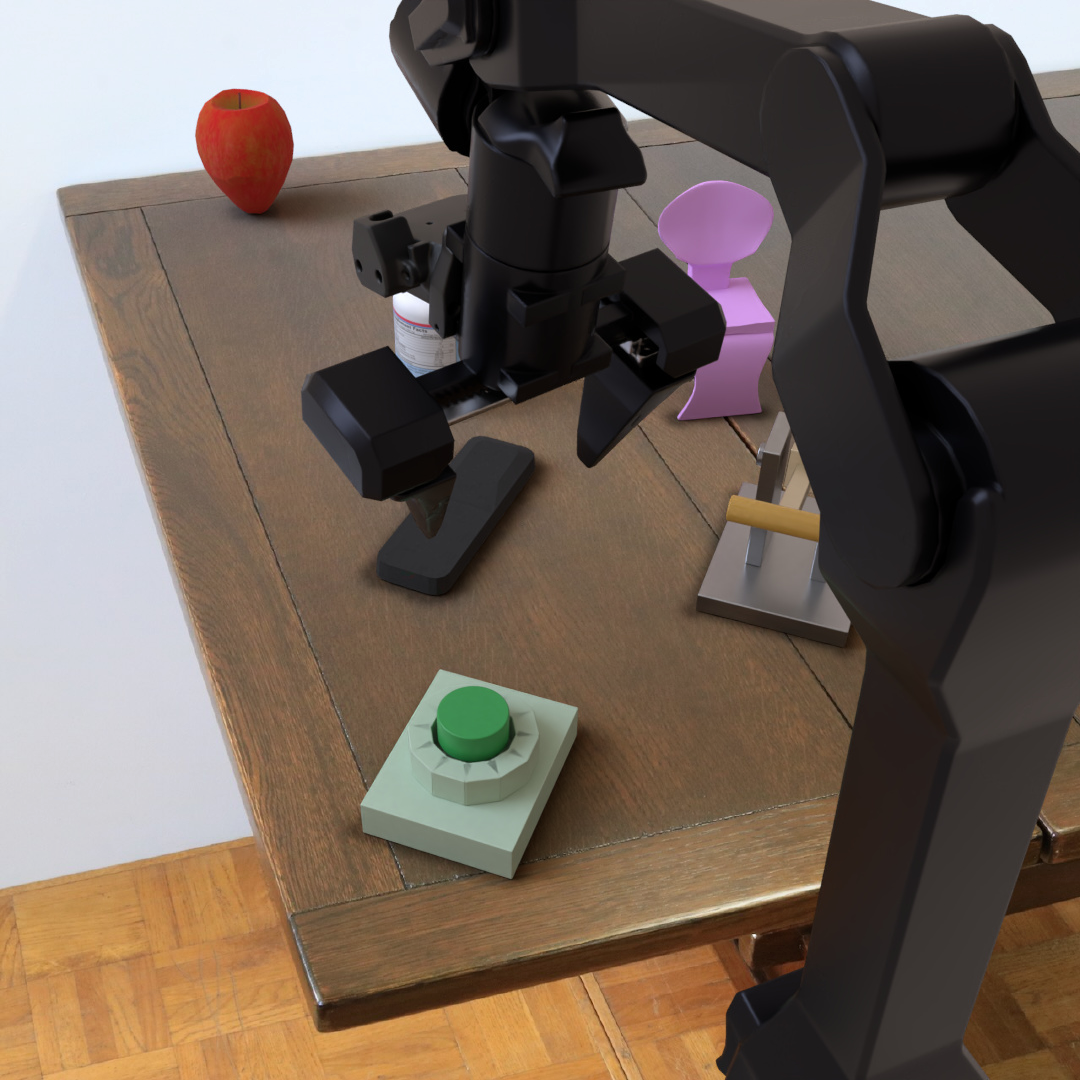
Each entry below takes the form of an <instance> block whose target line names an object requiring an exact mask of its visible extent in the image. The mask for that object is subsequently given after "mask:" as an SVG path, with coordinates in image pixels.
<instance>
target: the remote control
mask: <svg viewBox="0 0 1080 1080" xmlns="http://www.w3.org/2000/svg"><path fill="white" fill-rule="evenodd" d="M535 456H536V455H535V453H534V451H533V450H532V449H530V448H529V447H526V446H523V445H519V444H516V443H512V442H508V441H504V440H501V439H497V438H495V437H494V438H493V437H489V436H485V435H476V436H473V437H471V438H469V439H468V440H467V441H466V443H464V445H463V446H462V448H461V449H460V450H459V451H458V453H456V455H455V456H454V457H453V460H452V461H451V462H450V463H449V465H450V467H451V468H452V469H453V470H454V471H455V473H456V474H457V477H456V481H455V484H454V487H453V490H452V494H451V496H450V500H449V503H448V506H447V510H446V513H445V516H444V519H443V523H442V525H441V527H440V529H439V531H438V533H437V534H436V536H435V537H433V538H431V539H427V538H426V536H425V535H424V534H423V533H422V531H421V530H420V529H419V528H418V526H417V524H416V522H415V520H414V518H413V516H412V514H411V512H410V511H409V513H408V514H407V515H406V517H405V518H404V519H403V520H402V522H401V523H400V525H398V527H397V528H396V529H395V530H394V532H393V533H392V534H391V535H390V537H389V538H388V539H387V540H386V541H385V543H384V544H383V545H382V546H381V548H380V549H379V550H378V553H377V555H376V565H375V566H376V567H375V568H376V569H375V573H376V574H377V577H378V578H379V579H381V580H383V581H386V582H388V583H391V584H393V585H398V586H401V587H403V588H404V587H405V588H407V589H411V590H414V591H417V592H420V593H423V594H427V595H433V596H439V595H443V594H445V593H447V592H448V591H449V590H451V588H452V587H453V585H454V584H455V582H456V581H457V580H458V579H459V577H460V575H462V573H463V572H464V570H465V569H466V567H467V566H468V564H469V563H470V561H471V560H472V559H473V558H474V557H475V555H476V553H477V552H478V551H479V549H480V548H481V546H482V545H483V544H484V542H485V541H486V539H487V538H488V537H489V535H490V534H491V533H492V531H493V530H494V528H496V525H497V524H498V523H499V521H500V520H501V519H502V517H503V516H504V515H505V513H506V512H507V510H508V509H509V508H510V506H511V505H512V504H513V502H514V501H515V499H516V498H517V496H518V495H519V493H520V492H521V491H522V490H523V488H524V487H525V485H526V484H527V482H529V479H530V478H531V477H532V476H533V474H534V473H535V471H536V467H537V466H536V457H535Z"/></svg>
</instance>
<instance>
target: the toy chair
mask: <svg viewBox="0 0 1080 1080" xmlns="http://www.w3.org/2000/svg"><path fill="white" fill-rule="evenodd" d="M774 216H775V212H774V208H773V206H772V204H771V202H770V201H769V200H768V199H767V198H766V197H765V196H763V195H762V194H760V193H759V192H757V191H755V190H753V189H751V188H749V187H748V186H745V185H742V184H739V183H736V182H732V181H730V180H729V181H727V180H721V179H720V180H719V179H718V180H708V181H707V180H706V181H704V182H700V183H698V184H695V185H693V186H691V187H690V188H688V189H687V190H685V191H683V192H682V193H681V194H680V195H677V197H675V198H674V199H673V200H672V201H671V202H670V203H668V204H667V206H666V207H664V209H663V210H662V212H661V214H660V215H659V218H658V222H657V232H658V236H659V238H660V240H661V241H662V243H663V244H664V246H666V247H667V248H668V249H669V250H670V251H671V252H672V254H674V256H675V259H676V260H679V261H681V262H684V263H686V264H687V274H688V275H689V276H690V277H691V278H692V279H693V280H694V281H695V282H697V283H698V284H699V285H700V286H701V287H702V288H703V289H704V290H705V291H706V292H708V293H709V294H710V295H711V296H712V297H713V298H714V299H715V300H716V301H717V302H719V303H720V304H721V306H722V309H723V312H724V315H725V318H726V321H727V326H726V332H725V336H724V340H723V344H722V348H721V351H720V355H719V359H718V361H715V362H713V363H710V364H708V365H706V366H703V367H701V368H699V369H697V372H696V375H695V376H694V387H693V390H692V392H691V395H690V397H689V398H688V401H687V402H686V403H685V405H684V407H683V408H682V409H681V411H680V412H679V413H678V415H677V416H676V417H677V420H678V421H688V420H699V419H708V418H719V417H721V418H722V417H730V416H740V415H751V414H752V415H753V414H760V413H762V410H763V409H762V406H761V402H760V397H759V390H758V389H759V380H760V377H761V373H762V371H763V369H764V366H765V364H766V361H767V360H768V358H769V355H770V353H771V351H772V350H773V347H774V341H775V335H774V331H775V325H776V320H775V319H774V317H773V315H772V314H771V312H770V311H769V310H768V309H767V308H766V306H765V305H764V304H763V302H762V300H761V299H760V297H759V296H758V294H757V292H756V290H755V289H754V287H753V285H752V283H751V282H750V280H749V279H748V277H747V276H743V277H731V270H732V267H733V266H732V265H733V264H734V263H735V262H738V261H741V260H743V259H746V258H747V257H749V256H751V255H753V254H755V253H756V252H757V251H758V248H759V247H760V246H761V244H762V243H763V241H764V240H765V239H766V237H767V235H768V234H769V232H770V229H771V228H772V225H773V222H774Z"/></svg>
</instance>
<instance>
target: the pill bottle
mask: <svg viewBox="0 0 1080 1080" xmlns="http://www.w3.org/2000/svg"><path fill="white" fill-rule="evenodd" d="M392 312H393V313H392V314H393V327H394V328H393V329H394V347H395V348H394V349H395V354H396V355H397V357H398V358H399V359H400V360H401V361H402V362H403V364H404V365H405V366H406V367H407V368H408V369H409V371H410V372H411V373H412V374H413V375H414V376H415V377H419V376H421V375H424V374H427V373H429V372H432V371H434V370H437V369H440V368H442V367H445V366H448V365H450V364H453V363H456V362H458V361H461V360H460V358H459V354H458V341H457V340H456V339H455V338H454V337H453V336H451V337H449V338H446V339H442V338H441V337H440V335H439V334H438V333H437V332H436V331H435V330H434V329H433V328H432V327H431V325H430V324H429V304H428V303H426V302H425V301H423V300H421V299H419V298H417V297H415V296H413V295H412V294H410V293H408V292H406V293H399V294H396V295H393V296H392Z"/></svg>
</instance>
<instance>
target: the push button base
mask: <svg viewBox="0 0 1080 1080" xmlns="http://www.w3.org/2000/svg"><path fill="white" fill-rule="evenodd" d="M466 686H481V687H486V688H489V689H492V690H494V691H496V692H497V693H499V694H500V695H501V696H502V697H503V698H504V699H505V701H506V702H507V704H508V707H509V739H508V742H507V744H506V746H505V748H504V749H503V750H502V751H501V752H500V753H499V754H497V755H496V756H494V757H492V758H490V759H488V760H484V761H479V762H466V761H461V760H458V759H455V758H453V757H451V756H450V755H448V754H447V753H446V752H445V751H444V750H443V749H442V747H441V746H440V744H439V741H438V733H437V709H438V706H439V703H440V702H441V700H442V699H443V698H444V697H445V696H446V695H447V694H448V693H450V692H451V691H453V690H456V689H458V688H461V687H466ZM578 720H579V707H577V706H574V705H570V704H567V703H563V702H559V701H556V700H553V699H549V698H545V697H541V696H538V695H534V694H530V693H527V692H523V691H519V690H516V689H512V688H508V687H505V686H503V685H498V684H494V683H490V682H488V681H484V680H482V679H481V680H480V679H477V678H473V677H470V676H466V675H463V674H460V673H455V672H452V671H448V670H445V669H440V668H439V670H438V671H437V673H436V674H435V676H434V678H433V680H432V682H431V684H430V685H429V687H428V688H427V690H426V692H425V694H424V695H423V696H422V699H421V701H420V702H419V704H418V706H417V707H416V709H415V711H414V712H413V714H412V716H411V718H410V719H409V721H408V722H407V724H406V726H405V727H404V729H403V731H402V733H401V735H400V736H399V738H398V740H397V741H396V742H395V744H394V746H393V748H392V749H391V752H390V753H389V755H388V756H387V758H386V760H385V761H384V763H383V765H382V766H381V769H380V770H379V771H378V773H377V775H376V777H375V778H374V781H373V782H372V784H371V785H370V787H369V789H368V790H367V792H366V794H365V796H364V797H363V799H362V801H361V802H360V815H361V816H360V817H361V825H362V832H363V834H367V835H370V836H373V837H377V838H380V839H383V840H385V841H390V842H393V843H396V844H399V845H402V846H405V847H408V848H412V849H415V850H417V851H420V852H424V853H427V854H431V855H434V856H437V857H439V858H443V859H446V860H450V861H452V862H456V863H459V864H462V865H465V866H469V867H472V868H473V869H474V868H475V869H477V870H481V871H484V872H487V873H491V874H494V875H497V876H500V877H504V878H506V879H510V880H513V878H514V876H515V873H516V871H517V869H518V867H519V865H520V863H521V860H522V859H523V855H524V853H525V852H526V849H527V847H528V845H529V843H530V840H531V838H532V836H533V834H534V831H535V829H536V827H537V825H538V823H539V821H540V819H541V816H542V813H543V811H544V809H545V807H546V804H547V803H548V800H549V799H550V795H551V793H552V791H553V790H554V787H555V785H556V782H557V780H558V778H559V775H560V773H561V771H562V769H563V767H564V764H565V762H566V760H567V758H568V756H569V754H570V751H571V749H572V747H573V744H574V742H575V740H576V738H577V736H578Z"/></svg>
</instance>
